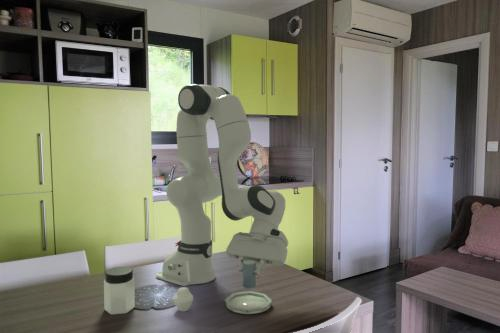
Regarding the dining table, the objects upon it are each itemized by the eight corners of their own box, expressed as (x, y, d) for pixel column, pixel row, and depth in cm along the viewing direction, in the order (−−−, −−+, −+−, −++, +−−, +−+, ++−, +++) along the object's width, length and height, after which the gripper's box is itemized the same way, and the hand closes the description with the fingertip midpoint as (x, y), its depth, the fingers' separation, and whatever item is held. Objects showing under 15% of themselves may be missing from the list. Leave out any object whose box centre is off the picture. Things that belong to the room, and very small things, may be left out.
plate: (218, 310, 122) (218, 304, 122) (238, 293, 135) (238, 288, 135) (260, 318, 116) (260, 313, 116) (277, 301, 129) (277, 295, 129)
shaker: (240, 286, 124) (240, 261, 123) (246, 282, 128) (246, 258, 127) (252, 288, 122) (252, 263, 122) (257, 284, 126) (257, 259, 125)
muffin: (175, 304, 126) (175, 283, 125) (195, 305, 126) (194, 283, 125) (171, 313, 120) (171, 290, 119) (191, 313, 119) (191, 291, 119)
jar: (102, 316, 118) (101, 276, 117) (106, 304, 126) (105, 267, 125) (134, 313, 120) (133, 274, 119) (135, 302, 128) (134, 265, 127)
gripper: (232, 226, 135) (216, 262, 127) (287, 233, 125) (274, 272, 117) (238, 236, 139) (224, 272, 131) (293, 243, 129) (280, 282, 121)
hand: (248, 272), depth 124 cm, fingers closed on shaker, 4 cm apart
